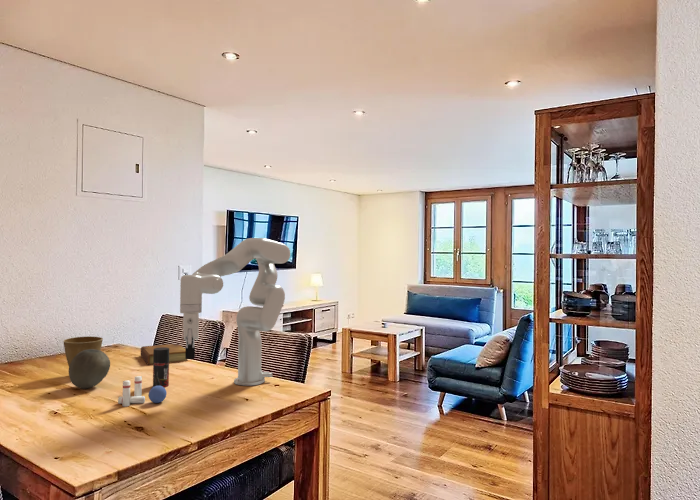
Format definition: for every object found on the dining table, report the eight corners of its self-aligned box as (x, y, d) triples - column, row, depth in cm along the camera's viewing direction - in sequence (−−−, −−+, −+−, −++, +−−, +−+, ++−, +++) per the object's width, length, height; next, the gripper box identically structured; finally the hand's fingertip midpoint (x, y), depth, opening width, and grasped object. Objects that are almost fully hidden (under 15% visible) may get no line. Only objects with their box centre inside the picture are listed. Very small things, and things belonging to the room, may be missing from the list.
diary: (140, 357, 251) (140, 346, 251) (177, 354, 261) (178, 343, 261) (147, 366, 232) (148, 354, 232) (187, 362, 241) (188, 350, 242)
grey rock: (81, 394, 182) (81, 354, 182) (61, 388, 190) (62, 350, 190) (116, 386, 194) (117, 348, 194) (96, 381, 202) (97, 345, 202)
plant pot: (54, 378, 205) (55, 340, 205) (85, 370, 219) (86, 335, 219) (79, 382, 200) (80, 343, 200) (109, 374, 213) (110, 337, 214)
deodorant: (163, 388, 192) (163, 350, 192) (149, 387, 193) (150, 349, 193) (171, 384, 198) (172, 347, 198) (158, 383, 199) (159, 347, 199)
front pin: (145, 394, 174) (119, 395, 173) (143, 397, 172) (117, 398, 170) (145, 401, 175) (120, 401, 173) (143, 404, 172) (117, 405, 171)
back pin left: (130, 404, 171) (131, 380, 172) (129, 406, 169) (129, 381, 169) (122, 404, 171) (123, 380, 171) (121, 406, 168) (122, 382, 168)
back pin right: (142, 399, 178) (142, 375, 178) (141, 401, 175) (141, 377, 175) (134, 399, 177) (135, 376, 177) (133, 401, 174) (133, 377, 175)
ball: (146, 395, 175) (162, 401, 177) (144, 402, 170) (161, 408, 172) (153, 380, 176) (169, 386, 178) (152, 387, 170) (169, 392, 172)
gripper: (201, 310, 172) (200, 362, 171) (202, 306, 186) (201, 354, 186) (178, 311, 170) (177, 363, 169) (181, 306, 184) (180, 354, 184)
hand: (190, 358), depth 178 cm, fingers closed
